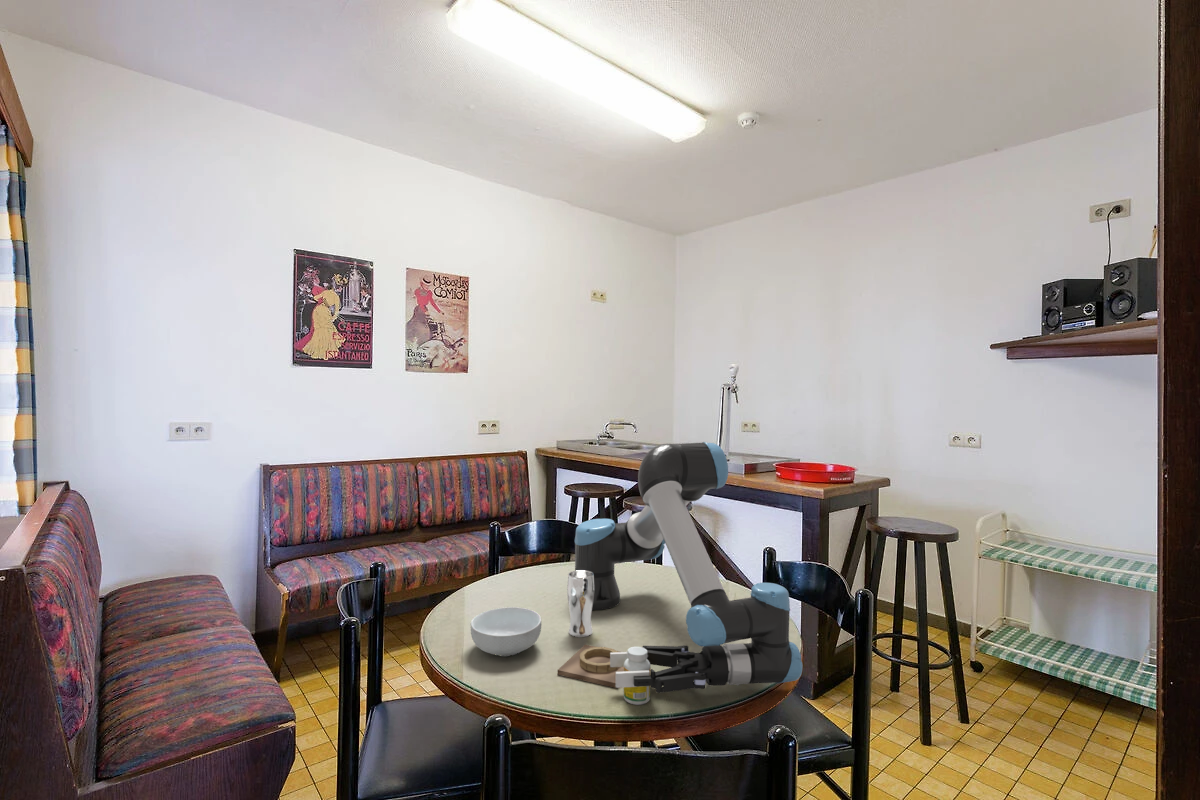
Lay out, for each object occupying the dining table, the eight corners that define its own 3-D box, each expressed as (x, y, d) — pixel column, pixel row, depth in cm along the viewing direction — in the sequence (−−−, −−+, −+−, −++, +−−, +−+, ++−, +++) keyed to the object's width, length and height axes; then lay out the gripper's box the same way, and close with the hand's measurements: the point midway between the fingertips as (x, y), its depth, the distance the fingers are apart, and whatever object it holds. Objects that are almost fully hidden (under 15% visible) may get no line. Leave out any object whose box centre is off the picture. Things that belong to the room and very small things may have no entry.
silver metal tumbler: (573, 640, 141) (574, 579, 141) (562, 629, 147) (563, 572, 147) (598, 635, 144) (599, 575, 144) (586, 625, 151) (587, 568, 150)
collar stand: (557, 674, 124) (557, 663, 124) (584, 648, 137) (585, 638, 137) (617, 688, 118) (617, 676, 118) (640, 659, 131) (640, 649, 131)
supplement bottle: (639, 708, 110) (640, 659, 110) (617, 699, 114) (618, 651, 114) (655, 697, 115) (656, 650, 115) (634, 688, 118) (634, 642, 118)
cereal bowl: (464, 640, 141) (464, 612, 141) (529, 630, 147) (530, 602, 147) (478, 671, 125) (478, 639, 125) (550, 658, 132) (550, 627, 131)
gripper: (741, 710, 106) (620, 716, 104) (708, 659, 126) (606, 664, 124) (742, 670, 106) (620, 675, 104) (709, 626, 126) (606, 629, 124)
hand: (613, 669), depth 114 cm, fingers open, 8 cm apart
